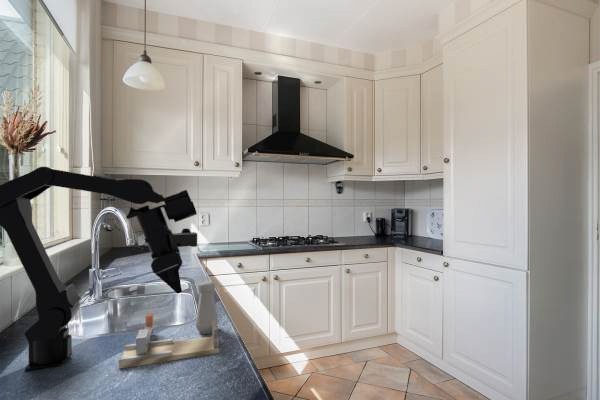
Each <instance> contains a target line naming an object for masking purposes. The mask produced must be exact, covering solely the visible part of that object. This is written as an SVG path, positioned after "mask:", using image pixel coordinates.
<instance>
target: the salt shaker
mask: <svg viewBox="0 0 600 400" xmlns="http://www.w3.org/2000/svg"><path fill="white" fill-rule="evenodd" d="M197 287H198V288H197V290H198V292H200V295H199V300H198V306H197V311H196V312H197V313H196V319H195V324H194V325H195V327H196V329H197V330H198V332H199V334H200V335H209V334H212V319H216V320H217V325H218V324H219V323H218V322H219V319H218V312H217V307H216V301H215V296H214V291H215V288H216V284H215V282H214V281H212V280H206V281H202V282H199V284H198V286H197Z"/></svg>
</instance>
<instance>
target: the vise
mask: <svg viewBox="0 0 600 400" xmlns="http://www.w3.org/2000/svg"><path fill="white" fill-rule="evenodd" d="M218 326H219V325H218V324H217V320H216V319H212V333H211V334H212V335H211V336H207V337H201V338H192V339H185V340H178V341H174V338H168V339H159V340H154V341H149V349H148V352H147V354H144V355H138V356H136V343H131V344H126V345H125V346H124V352H123V353H122V354H123V355H122V356H121V357H120V358H119V359H118V369H126V368H132V367H139V366H145V365H151V364H156V363H164V362H169V361H176V360H183V359H188V358H194V357H202V356H207V355H208V356H209V355H213V354H214V355H215V354H219V349H220V347H219V327H218Z"/></svg>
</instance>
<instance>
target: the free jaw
mask: <svg viewBox="0 0 600 400" xmlns="http://www.w3.org/2000/svg"><path fill="white" fill-rule="evenodd" d="M154 319H155V314H154V312H149V313H146V315H145V325H144V329H143V328H142V329H139V330H138V331H137V332H138V333H137V334H136V337H135V344H136V356H138V355H144V354H147V352H148V349H149V342H150V338H151V334H153V333H154V330H155V328H154V327H155V326H154V325H155V322H154Z"/></svg>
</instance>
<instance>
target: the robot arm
mask: <svg viewBox="0 0 600 400" xmlns="http://www.w3.org/2000/svg"><path fill="white" fill-rule="evenodd" d="M52 187H58V188H59V187H60V188H65V189H69V190H71V189H73V190H76V191H83V192H84V191H85V192H90V193H97V194H103V195H107V196H111V197H114V198H117V199H120V200H124V201H127V202H130V203H132V204H136V205H143V206H141V207H138V208H135V207H132V206H130V208H129V211H128V213H127V215H126V219H128V220H129V219H132V218H135V217H136V219H137V222H138V224H139V228H140V229H141V232H142V234H143V237H144V243H146V245H147V247H148V249H149V252H150V256H151V259H152V261H151V264H150V268H151V270H152V274H155V276H156V277H158V278H159V279H160V280H162V281H163V283H165V284H167V286H169V287H170V289H172V290H173V291H174V292H175V293H177V294H181V293H182V292H183V289H182V285H181V277H180V272H179V271H180V268H181V266H182V265H183V259H182V257H181V250H180V247H181V248H182V247H192V248H195V247H198V233H197V232H194V231H191V230H190V228H188V227H187V228H182V229H181V232H174V233H173V231H172V229H170V228H169V225H168V223H167V220H166V217H167V219H168V221H171V220H173V221H174V223H177V222H180V221H183V220H185V219H188V218H191V217H194V216H196V215H198V214H197V213H198V212H197V210H196V206H195V205H194V201H192V199H191V197H190V194H189V192H188V190H187V189H184V190H181V191H179V192H178V193H175V194H174V193H173V194H172V195H169V196H166V197H164V195H163V194H159V193H158V192H156V191H155V190H154V187H153V185H152V184H151V183H150V182H148V181H147V180H146V179H145V180H144V179H140V178H139V179H138V178H118V179H117V178H106V177H100V176H96V175H94V176H93V175H88V174H82V173H78V172H77V173H76V172H71V171H66V170H60V169H55V168H52V167H50V166H49V167H48V166H39V167H37V168H36V169H33V170H32V171H30V172H28V173H25V174H23V175H20V176H19V177H16V178H12V179H10V180H9V181H6V182H4V183H2V184H0V227H1V229H3V230H4V231H5V233H6V234H7V237H8V238H9V240H10V242H11V245H12V247H13V249H14V250H15V252H16V254H17V257H18V259H19V261H20V264H21V266H22V267H23V270H24V271H25V272H26V275H27V277H28V279H29V281H30V283H31V286H32V288H33V289H34V292H35V293H34V294H35V311H36V315H37V319H38V320H37V321H36V322H35V323H34V324H32V325H31V326H30V327H29V328H28V329H27V330H26V331H25V332H24V336H25V339H26V341H27V342H28V364H26V365H25V366H24V371H30V370H37V369H44V368H50V367H51V368H52V367H59V366H62V365H63V364H64V362H65V361H66V360H67V359H68V358H69V357H70V355H71V354H72V352H73V350H72V348H73V347H72V346H73V345H72V344H73V343H72V342H73V341H72V334H70V331H69V330H70V329H69V327H66V326H67V325H68V324H69V323H70V321H72V319H73V318H74V317H75V316H76V314H77V313H78V311H79V309H80V301H81V299H82V298H81V296H79V294H78V293H77V289H76V286H75V284H74V283H71V284H70V285H68V286H67V285H65V283H64V282H62V281H61V280H60V278H59V276H58V274H57V272H56V270H55V267H54V266H53V263H52V262H51V259H50V257H49V255H48V253H47V250H46V249H45V247H44V245H43V242H42V240H41V238H40V236H39V234H38V232H37V229H36V228H35V226H34V223H33V207H32V202H31V201H32V200H34V199H35V198H37V197H39V196H40V195H41V194H43V193H44V192H45V191H47V190H48V189H50V188H52ZM162 202H164V204H162V205H161V204H160V205H158V206H155V207H152V208H151V207H150V205H149V204H148V205H147V203H154V204H159V203H162ZM144 204H146V205H145V206H144ZM162 208H163V210H164V211H165V215H166V217H165V216H164V212H163V210H162Z"/></svg>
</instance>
